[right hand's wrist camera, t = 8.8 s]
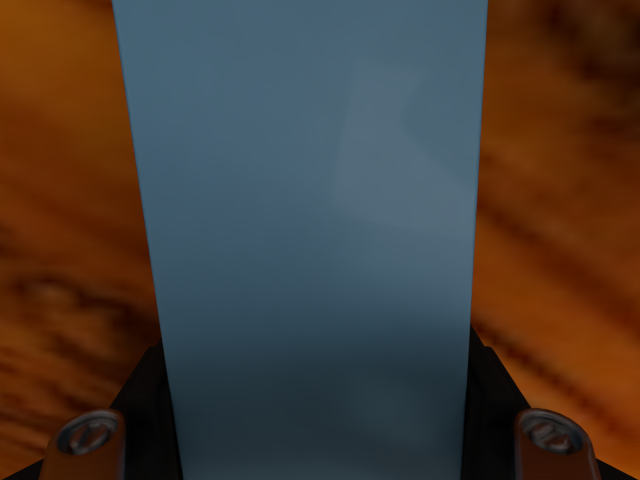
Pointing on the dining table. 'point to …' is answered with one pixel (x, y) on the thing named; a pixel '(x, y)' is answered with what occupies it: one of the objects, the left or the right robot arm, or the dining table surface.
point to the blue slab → (310, 228)
